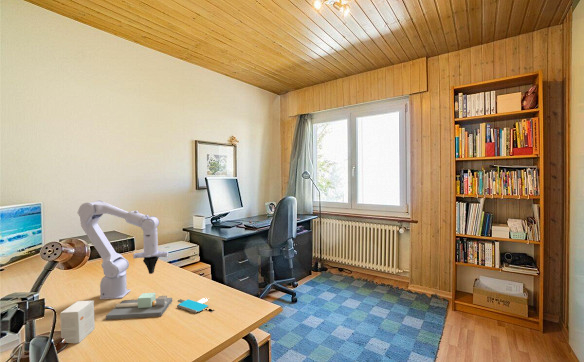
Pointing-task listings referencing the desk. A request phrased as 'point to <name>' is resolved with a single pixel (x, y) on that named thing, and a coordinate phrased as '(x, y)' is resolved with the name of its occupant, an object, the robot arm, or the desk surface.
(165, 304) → the wooden dowel
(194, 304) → the blue flat gadget
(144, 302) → the sleeve
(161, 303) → the block
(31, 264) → the desk surface
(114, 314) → the board
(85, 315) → the small box
